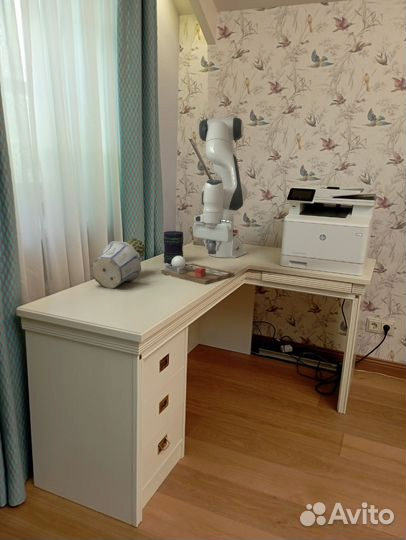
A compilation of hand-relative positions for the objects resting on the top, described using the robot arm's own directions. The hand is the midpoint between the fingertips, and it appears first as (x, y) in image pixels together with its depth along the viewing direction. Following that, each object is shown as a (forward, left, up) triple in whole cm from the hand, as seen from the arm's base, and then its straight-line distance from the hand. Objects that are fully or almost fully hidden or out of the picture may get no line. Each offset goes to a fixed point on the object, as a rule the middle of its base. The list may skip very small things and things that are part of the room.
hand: (212, 250), depth 187 cm
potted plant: (+33, -20, -12) cm, 40 cm away
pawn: (0, 0, -2) cm, 2 cm away
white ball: (+9, -12, -10) cm, 18 cm away
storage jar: (-7, -31, -12) cm, 34 cm away
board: (+4, -5, -11) cm, 13 cm away
